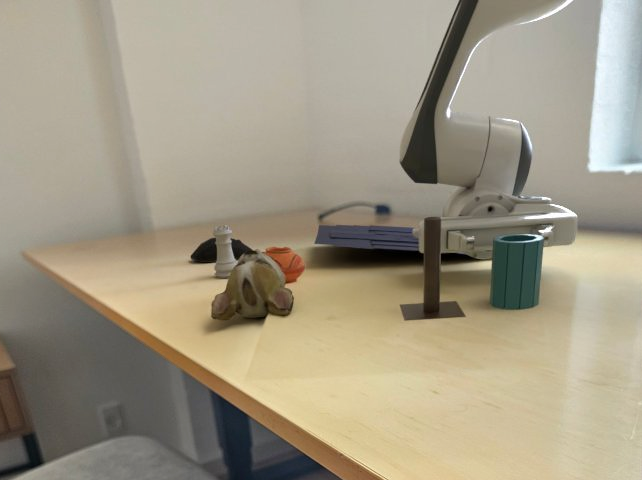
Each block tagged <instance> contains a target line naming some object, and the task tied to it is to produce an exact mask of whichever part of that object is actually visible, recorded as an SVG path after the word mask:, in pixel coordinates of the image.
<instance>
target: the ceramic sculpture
mask: <svg viewBox="0 0 642 480" xmlns="http://www.w3.org/2000/svg"><path fill="white" fill-rule="evenodd" d="M262 252H263V251H261V250H260V249H258V248H256V249H255V250H253V249H252V250H248V251H246V252H245V253H244V254H243V255H242V256H241V257H240V258H239V259H237V265H236V266H234V268H233V270H232V271H231V274H230V275H229V278H227V283H226V285H225V286H226V287H225V290H224V291H222V292H220V293H218V294H215V296H214V299H213V300H212V301H211V309H210V312H211V313H210V314H211V315H210V317H211V319H212V320H217V321H221V322H223V321H229V320H231V319H232V318H233V317H235V315H236V314H238V315H240V316H242V317H244V318H250V319H255V318H263V317H266V316H268V315H269V313H271V314H272V315H276V316H286V315H288V314H290V313H291V312H292V311H293V309H294V308H293V307H294V303H295V302H294V301H295V297H294V294H293V291H292V290H291V289H290V288H289V287H286V283H285V275H284V273H283V272H282V271H281V270H280V268H279V266H278V265H277V264H276V263H275V262H274V261H273V260H272V259H271V257H269V256H267V255H265V254H264V253H262Z"/></svg>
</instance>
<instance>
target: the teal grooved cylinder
mask: <svg viewBox="0 0 642 480" xmlns="http://www.w3.org/2000/svg"><path fill="white" fill-rule="evenodd" d="M543 246H544V238H543V237H542V236H539V235H533V234H510V235H502V236H498V237H496V238H493V249H492V258H491V266H490V267H491V270H490V289H489V305H490V306H491V307H493V308H496V309H500V310H510V311H512V310H514V311H518V310H520V311H521V310H527V309H532V308H535V307H536V306H538V305H539V302H540V289H541V280H542V279H541V278H542V269H543V268H542V267H543V257H544V247H543Z"/></svg>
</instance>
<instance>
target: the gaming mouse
mask: <svg viewBox="0 0 642 480" xmlns="http://www.w3.org/2000/svg"><path fill="white" fill-rule="evenodd" d="M230 240H231V241H232V242H231V248H232V252H233V255H234V258H235V259H236V260H239V258H240V257H241V256H242V255H243V254H244V253H245V252H246V251H248V250H253V249H252V248H250V247H249V246H248V245H246V244H245V243H244V242H242V240H241V239H235V238H231V237H230ZM215 242H216V238H215V237H210V238H208V239H207V240H205V241H203V242H202V243H200V244H199V245H198V247H197V248H195V250H194V251H193V252H192V253H191V255H190V260H193V261H196V262H200V263H212V262H216V261H217V245H216V244H215ZM261 252H262V253H264V252H265V251H261Z"/></svg>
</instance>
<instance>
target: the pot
mask: <svg viewBox="0 0 642 480" xmlns="http://www.w3.org/2000/svg"><path fill="white" fill-rule="evenodd" d="M263 252H264V254H265V255H267V256H269V257H271V259H272V260H273V261H274V262H275V263H276V264H277V265H278V266H279V268H280V270H281V271H282V272H283V273H284V275H285V284H286V283H296V282H297V280H298V278H300V276H302V274H303V273H304V272H305V269H306V262H305V261H304V259H303V258H302V257H301V256H300V255H299V254H297V253H295V252H294V251H292V248H290V247H287V246H284V247H278V246H271V247H267V248H265V251H263Z"/></svg>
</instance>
